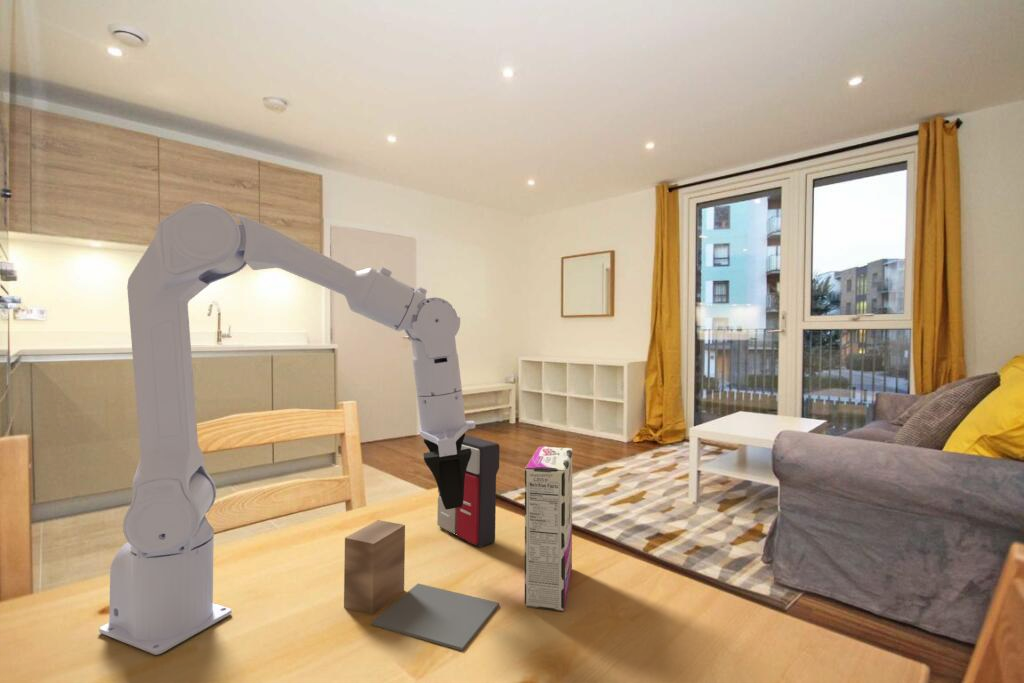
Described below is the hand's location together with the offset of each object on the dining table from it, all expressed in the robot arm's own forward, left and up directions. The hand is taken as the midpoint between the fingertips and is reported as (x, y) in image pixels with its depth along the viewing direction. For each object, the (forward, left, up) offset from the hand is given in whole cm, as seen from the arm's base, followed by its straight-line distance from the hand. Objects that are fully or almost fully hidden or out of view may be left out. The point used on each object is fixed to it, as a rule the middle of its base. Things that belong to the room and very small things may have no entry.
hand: (451, 496), depth 63 cm
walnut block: (-6, -8, -11) cm, 14 cm away
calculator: (-5, +13, -11) cm, 17 cm away
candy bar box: (+12, +3, -11) cm, 17 cm away
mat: (+3, -8, -11) cm, 14 cm away
